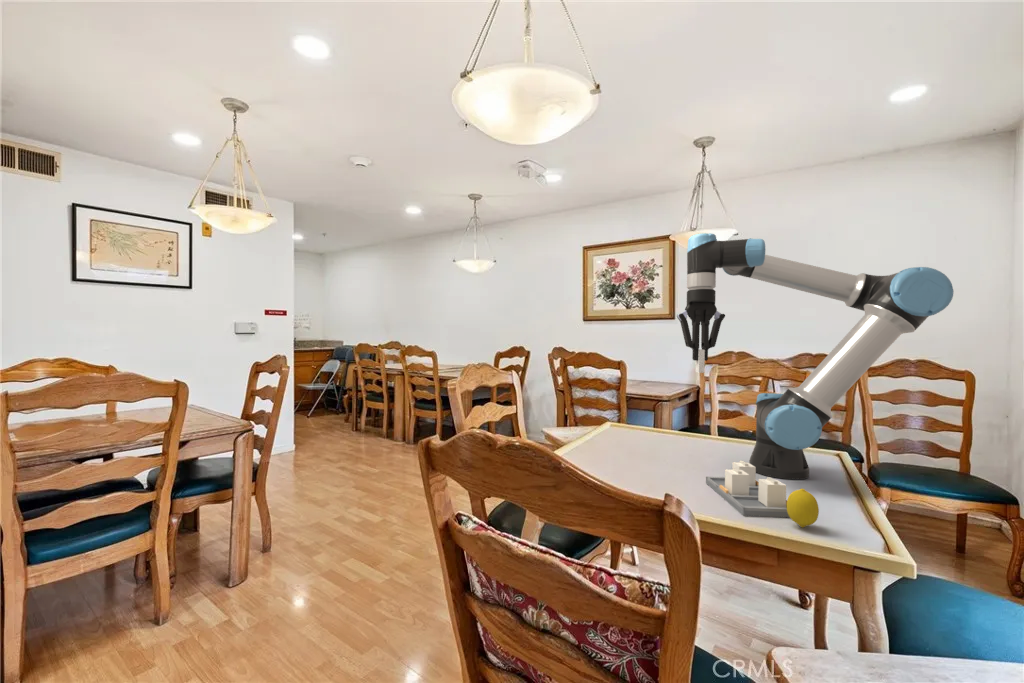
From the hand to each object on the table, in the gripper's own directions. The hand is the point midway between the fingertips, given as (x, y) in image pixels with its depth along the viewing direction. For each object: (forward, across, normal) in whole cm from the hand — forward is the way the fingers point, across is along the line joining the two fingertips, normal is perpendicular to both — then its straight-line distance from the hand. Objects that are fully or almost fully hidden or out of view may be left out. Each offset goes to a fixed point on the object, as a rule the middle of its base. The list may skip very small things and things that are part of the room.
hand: (699, 372), depth 125 cm
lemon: (+30, -9, +34) cm, 46 cm away
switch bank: (+29, -5, +18) cm, 35 cm away
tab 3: (+28, -7, +25) cm, 38 cm away
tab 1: (+28, -7, +11) cm, 31 cm away
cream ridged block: (+28, -3, +18) cm, 33 cm away
